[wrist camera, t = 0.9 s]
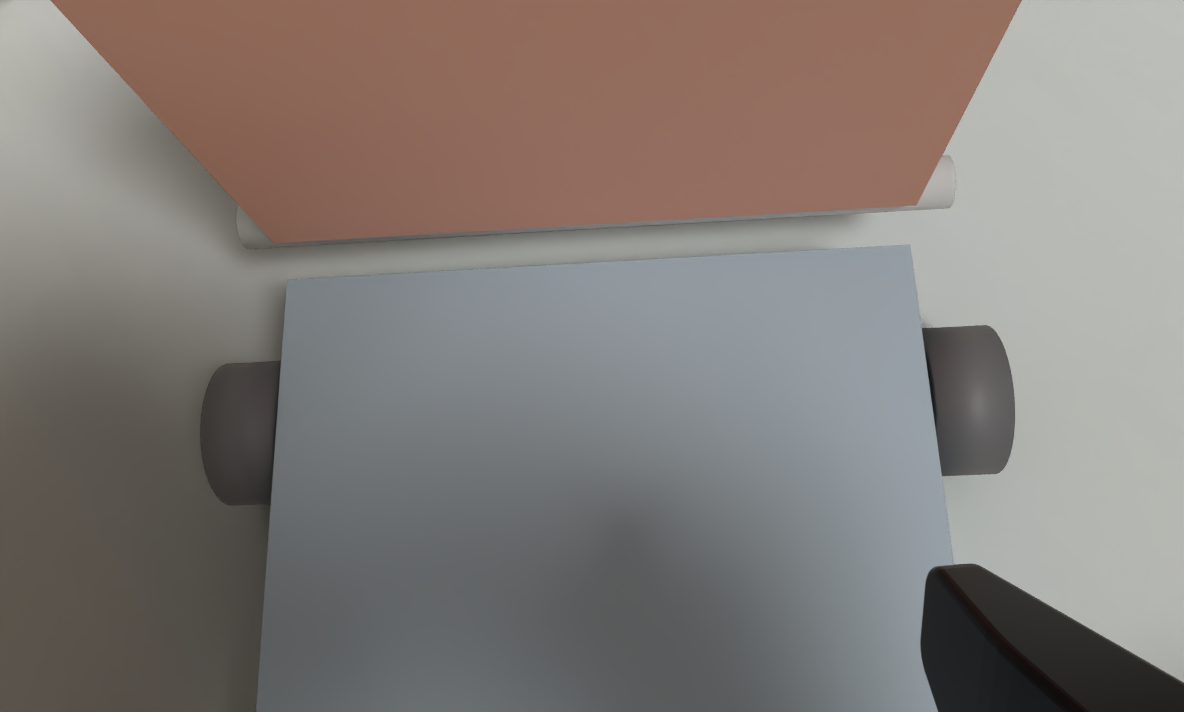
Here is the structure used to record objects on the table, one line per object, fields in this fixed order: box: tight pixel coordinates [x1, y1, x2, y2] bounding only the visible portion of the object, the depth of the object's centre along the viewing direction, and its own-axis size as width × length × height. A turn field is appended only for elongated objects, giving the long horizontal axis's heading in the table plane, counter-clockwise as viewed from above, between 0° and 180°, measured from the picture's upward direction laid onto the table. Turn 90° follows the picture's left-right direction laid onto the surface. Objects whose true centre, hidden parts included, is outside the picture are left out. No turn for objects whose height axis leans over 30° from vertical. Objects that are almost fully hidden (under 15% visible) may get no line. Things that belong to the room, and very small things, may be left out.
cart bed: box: [200, 245, 1015, 712], centre depth 17 cm, size 14×14×3 cm
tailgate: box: [51, 0, 1022, 249], centre depth 14 cm, size 1×12×9 cm, turn 91°
